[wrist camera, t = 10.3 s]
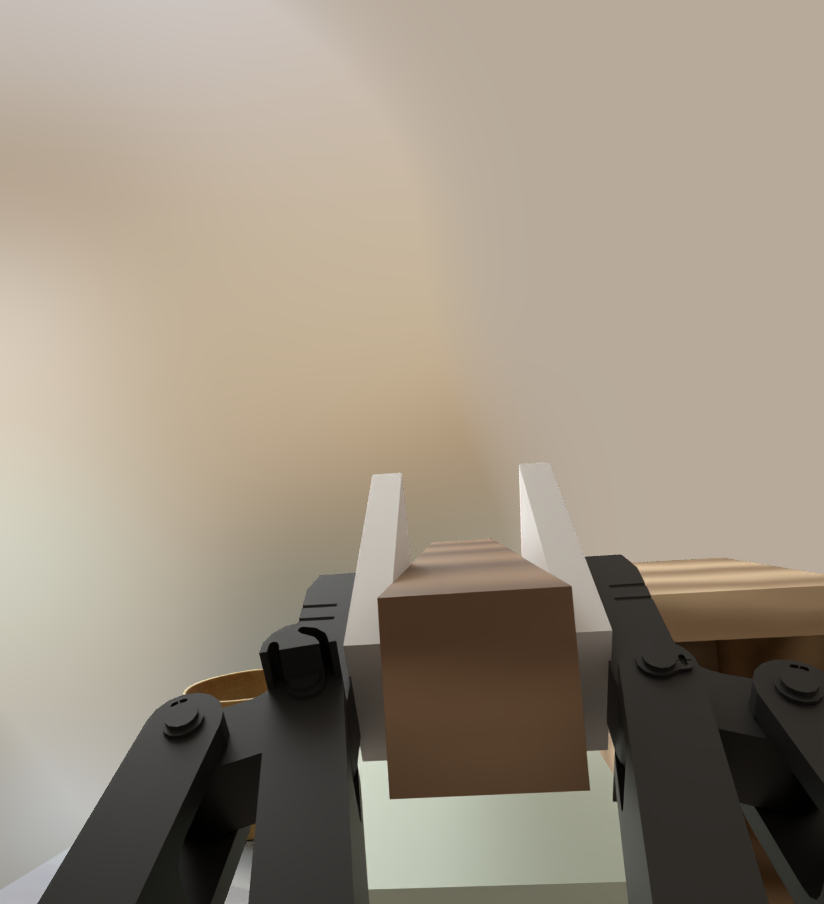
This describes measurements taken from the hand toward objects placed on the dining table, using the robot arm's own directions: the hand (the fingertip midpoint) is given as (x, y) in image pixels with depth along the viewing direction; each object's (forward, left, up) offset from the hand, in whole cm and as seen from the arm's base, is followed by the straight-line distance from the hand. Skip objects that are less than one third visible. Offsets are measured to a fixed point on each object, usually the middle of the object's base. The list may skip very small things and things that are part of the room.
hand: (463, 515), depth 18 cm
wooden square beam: (-2, +4, -4) cm, 6 cm away
